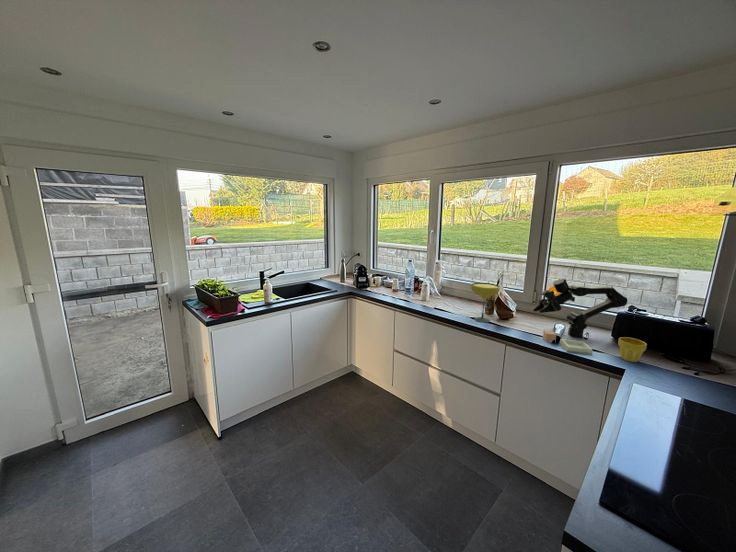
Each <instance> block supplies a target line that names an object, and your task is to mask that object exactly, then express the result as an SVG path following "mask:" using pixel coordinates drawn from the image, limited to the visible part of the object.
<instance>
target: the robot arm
mask: <svg viewBox="0 0 736 552" xmlns="http://www.w3.org/2000/svg"><path fill="white" fill-rule="evenodd" d="M567 282H568V281H567V279H565V278H561V279H557V280H555V281H553V283H552V285H553V287H554V288H555V291H556V292H557V293H558V294H555V291H554V290H549V289H544V290H543V291H542V292H541V295H542V296H544V297H545V298H540V299H539V301H538V304H537V305H536V307H535V308H534V309H533V310H532V311H533V312H538V313H540V314H542V313H543V314H544V313H552V312H559V311H561V310H562V306H563V305H564V304H565V303H566V302H568V301H571V302H574V303H575V300H576V297H584V296H587V295H605V296H606V297H607V298H606V299H605V300H604V301H603V302H600V303H598V304H596V305H593V306H591V307H589V308H587V309H585V310H582V311H580V310H577V309H575V310H572V311H571V312H569V313H568V314H567V316H566V320H567V322H568V324H569V327H568V330H567V331H568V332H567V334H568V336H570V337H571V338H576V339H584V338H585V337H584V331H585V330H586V329H587V328H588V325H587V324H586V322H587V321H588V319H590V318H592V317H594V316H597V315H598V314H601V313H603V312H606V311H608V310H610V309H615V308H617V309H618V308H622V307H625V306H626V305H628V298H627V297H626V296H623V295H622V294H621V293H620V292H619V291H617V290H616V289H615V288H614V287H612V286H606V285H605V286H583V285H579V284H578V285H577V284H572V285H569V283H567ZM575 296H576V297H575ZM561 305H562V306H561Z"/></svg>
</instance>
